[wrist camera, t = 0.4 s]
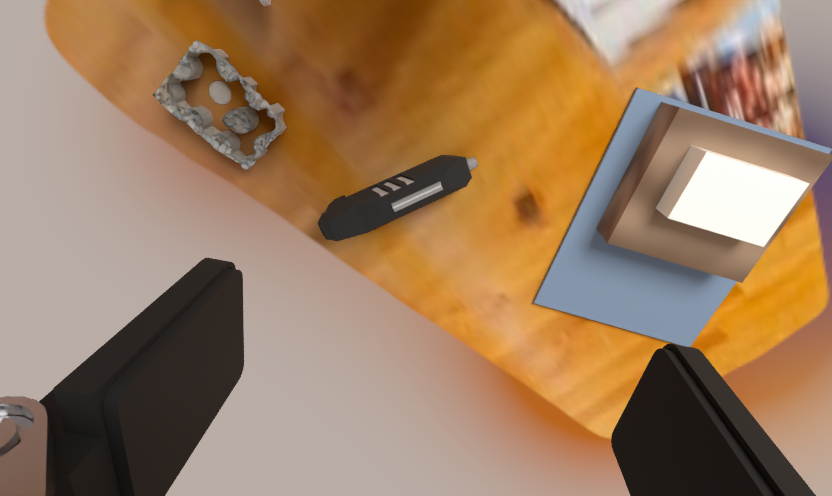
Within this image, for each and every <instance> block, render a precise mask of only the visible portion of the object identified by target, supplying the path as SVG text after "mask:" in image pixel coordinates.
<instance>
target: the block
mask: <svg viewBox="0 0 832 496" xmlns="http://www.w3.org/2000/svg"><path fill="white" fill-rule="evenodd" d="M691 145H693V146H696V147H699V148H702V149H706V150H709V151H712V152H715V153H718V154H722V155H725V156H728V157H731V158H735V159H738V160H741V161H744V162H748V163H751V164H754V165H757V166H761V167H764V168H767V169H770V170H773V171H777V172H780V173H783V174H786V175H789V176H792V177H794V178H797V179H799V180H802V181H804V182H807V183H809V185H808V187H807V188H806V189H805V191H804V192H803V194H802V195H801V196H800V198H799V199H798V200H797V202H796V203H795V205H794V206H793V207H792V209H791V210H790V212H789V213H788V214H787V216H786V217H785V218H784V220H783V221H782V223H781V224H780V225H779V227H778V228H777V229H776V231H775V232H774V234H773V235H772V236H771V238H770V239H769V241H768V242H767V243H766V245H765V246H764V247H762V246H759V245H755V244H752V243H749V242H745V241H742V240H739V239H735V238H732V237H729V236H725V235H722V234H719V233H715V232H712V231H709V230H705V229H702V228H699V227H695V226H692V225H689V224H685V223H682V222H679V221H675V220H672V219H669V218H667V217H666V216H664V215H663V214H662V213H661V212H660V211H658V210H657V209H656V207H657V205H658V203H659V201H660V200H661V198H662V196H663V194H664V193H665V191H666V189H667V187H668V186H669V184H670V182H671V180H672V178H673V177H674V175H675V173H676V171H677V170H678V168H679V166H680V164H681V163H682V161H683V159H684V157H685V156H686V154H687V152H688V150H689V149H690V147H691ZM831 160H832V155H830V154H827V153H824V152H821V151H818V150H814V149H811V148H808V147H805V146H802V145H798V144H795V143H792V142H789V141H786V140H783V139H779V138H776V137H773V136H770V135H767V134H763V133H760V132H757V131H754V130H751V129H747V128H744V127H741V126H738V125H735V124H731V123H728V122H725V121H722V120H719V119H715V118H712V117H709V116H706V115H703V114H700V113H696V112H693V111H690V110H687V109H684V108H680V107H677V106H674V105H670V104H667V103H663V102H661V103H660V105H659V107H658V109H657V111H656V113H655V115H654V117H653V119H652V121H651V123H650V125H649V127H648V129H647V131H646V132H645V134H644V136H643V138H642V140H641V142H640V144H639V146H638V148H637V150H636V152H635V154H634V156H633V158H632V160H631V162H630V164H629V166H628V167H627V169H626V171H625V173H624V175H623V177H622V179H621V181H620V183H619V185H618V187H617V189H616V191H615V193H614V195H613V197H612V199H611V201H610V202H609V204H608V206H607V208H606V210H605V212H604V214H603V216H602V218H601V220H600V222H599V224H598V226H597V228H596V229H597V230H598V231H599V233H600V234H601V235H602V237H603V238H604V239H605V241H606V242H607V243H609V244H612V245H616V246H619V247H623V248H626V249H629V250H633V251H636V252H639V253H643V254H646V255H650V256H653V257H656V258H660V259H663V260H667V261H670V262H673V263H677V264H680V265H683V266H687V267H690V268H694V269H697V270H700V271H704V272H707V273H711V274H714V275H717V276H721V277H724V278H728V279H731V280H734V281H738V282H741V283H742V282H743V281H744V280H745V278H746V277H747V276H748V274H749V273H750V271H751V270H752V269H753V267H754V266H755V265H756V263H757V262H758V260H759V259H760V258H761V256H762V255H763V254H764V252H765V251H766V249H767V248H768V247H769V245H770V244H771V243H772V241H773V240H774V238H775V237H776V236H777V234H778V233H779V232H780V230H781V229H782V228H783V226H784V225H785V223H786V222H787V221H788V219H789V218H790V217H791V215H792V214H793V212H794V211H795V210H796V208H797V207H798V206H799V204H800V203H801V201H802V200H803V199H804V197H805V196H806V195H807V193H808V192H809V190H810V189H811V188H812V186H813V185H814V184H815V182H816V181H817V179H818V178H819V177H820V175H821V174H822V173H823V171H824V170H825V169H826V167H827V166H828V164H829V163H830V162H831Z"/></svg>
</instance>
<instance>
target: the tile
mask: <svg viewBox="0 0 832 496" xmlns="http://www.w3.org/2000/svg"><path fill="white" fill-rule="evenodd" d="M808 185H809V183H807V182H804V181H802V180H799V179H797V178H794V177H792V176H789V175H786V174H783V173H780V172H777V171H773V170H770V169H767V168H764V167H761V166H757V165H754V164H751V163H748V162H744V161H741V160H738V159H735V158H731V157H728V156H725V155H722V154H718V153H715V152H712V151H709V150H706V149H702V148H699V147H696V146H693V145H691V147H690V149H689V150H688V152H687V154H686V156H685V157H684V159H683V161H682V163H681V164H680V166H679V168H678V170H677V171H676V173H675V175H674V177H673V178H672V180H671V182H670V184H669V186H668V187H667V189H666V191H665V193H664V194H663V196H662V198H661V200H660V201H659V203H658V205H657V207H656V209H657V210H658V211H660V212H661V213H662V214H663V215H664V216H666V217H667V218H669V219H672V220H675V221H679V222H682V223H685V224H689V225H692V226H695V227H699V228H702V229H705V230H709V231H712V232H715V233H719V234H722V235H725V236H729V237H732V238H735V239H739V240H742V241H745V242H749V243H752V244H755V245H759V246H762V247H764V246H765V245H766V243H767V242H768V241H769V239H770V238H771V236H772V235H773V234H774V232H775V231H776V229H777V228H778V227H779V225H780V224H781V223H782V221H783V220H784V218H785V217H786V216H787V214H788V213H789V212H790V210H791V209H792V207H793V206H794V205H795V203H796V202H797V200H798V199H799V198H800V196H801V195H802V194H803V192H804V191H805V189H806V188H807V187H808Z"/></svg>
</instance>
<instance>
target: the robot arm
mask: <svg viewBox="0 0 832 496" xmlns="http://www.w3.org/2000/svg"><path fill="white" fill-rule="evenodd" d="M243 339H244V337H243V278H242V272H241V271H240V270H236V269H235V265H234V264H233V263H232V262H228V261H222V260H217V259H212V258H205V259H203V260H202V261H201V262H199V263H198V264H197V265H196V266H195V267H193V268H192V269H191V270H190V271H189V272H188V273H186V274H185V275H184V276H183V277H182V278H181V279H180V280H179V281H177V282H176V283H175V284H174V285H173V286H171V287H170V288H169V289H168V290H167V291H166V292H164V293H163V294H162V295H161V296H160V297H159V298H157V299H156V300H155V301H154V302H153V303H152V304H151V305H150V306H148V307H147V308H146V309H145V310H144V311H143V312H141V313H140V314H139V315H138V316H137V317H135V318H134V319H133V320H132V321H131V322H130V323H128V324H127V325H126V326H125V327H124V328H123V329H122V330H120V331H119V332H118V333H117V334H116V335H115V336H114V337H112V338H111V339H110V340H109V341H108V342H107V343H105V344H104V345H103V346H102V347H101V348H99V349H98V350H97V351H96V352H95V353H94V354H93V355H91V356H90V357H89V358H88V359H87V360H86V361H84V362H83V363H82V364H81V365H80V366H79V367H77V368H76V369H75V370H74V371H73V372H72V373H70V374H69V375H68V376H67V377H66V378H65V379H64V380H63V381H61V382H60V383H59V384H58V385H57V386H55V387H54V388H53V390H52V391H51V392H50V393H49V394H48V395H46V396H45V397H44V398H43V399H42V400H40V401H39V402H38V401H37V400H34V399H30V398H27V397H9V396H8V397H1V398H0V496H165V495H166V493H167V491H168V490H169V488H170V487H171V485H172V484H173V482H174V480H175V479H176V477H177V476H178V474H179V473H180V471H181V470H182V468H183V466H184V465H185V463H186V462H187V460H188V459H189V457H190V455H191V454H192V452H193V451H194V449H195V448H196V446H197V445H198V443H199V441H200V440H201V438H202V437H203V435H204V434H205V432H206V430H207V429H208V427H209V426H210V424H211V423H212V421H213V419H214V418H215V416H216V415H217V413H218V412H219V409H221V407H222V405H223V404H224V402H225V401H226V399H227V398H228V396H229V394H230V393H231V391H232V390H233V388H234V387H235V385H236V383H237V382H238V380H239V379H240V377H241V374H242V371H243V366H244V342H243V341H244V340H243ZM611 443H612V448H613V451H614V454H615V456H616V459H617V462H618V464H619V467H620V469H621V472H622V474H623V477H624V480H625V482H626V485H627V488H628V490H629V493H630V495H631V496H816V495H815V494H814V493H813V491H812V490H811V489H810V488H809V487H808V485H807V484H806V483H805V481H804V480H803V479H802V478H801V476H800V475H799V474H798V473H797V472H796V470H795V469H794V468H793V466H792V465H791V464H790V463H789V461H788V460H787V459H786V458H785V457H784V455H783V454H782V452H781V451H780V450H779V449H778V447H776V445H775V444H774V443H773V441H772V440H771V439H770V438H769V436H768V435H767V434H766V433H765V431H764V430H763V429H762V427H761V426H760V425H759V424H758V422H757V421H756V420H755V419H754V417H753V416H752V415H751V414H750V412H749V411H748V410H747V408H746V407H745V406H744V405H743V403H742V402H741V401H740V400H739V398H738V397H737V396H736V395H735V393H734V392H733V391H732V390H731V389H730V387H729V386H728V385H727V383H726V382H725V381H724V380H723V378H722V377H721V376H720V375H719V373H718V372H717V371H716V369H715V368H714V367H713V366H712V364H711V363H710V362H709V361H708V359H707V358H706V357H705V356H704V354H703V353H702V352H701V351H700V350H699V349H696V348H692V347H686V346H681V345H676V344H667V345H665V346H664V347H663V348H662V349H661V348H660V349H657V350H656V351H655V353H654V354H653V356H652V358H651V360H650V362H649V364H648V366H647V367H646V369H645V371H644V373H643V375H642V377H641V379H640V381H639V383H638V385H637V387H636V389H635V390H634V392H633V394H632V396H631V398H630V400H629V402H628V404H627V406H626V408H625V410H624V412H623V413H622V415H621V417H620V419H619V421H618V423H617V425H616V427H615V429H614V431H613V433H612V440H611Z"/></svg>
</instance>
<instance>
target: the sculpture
mask: <svg viewBox="0 0 832 496" xmlns="http://www.w3.org/2000/svg"><path fill="white" fill-rule="evenodd" d="M259 1H260V2H261V4H262V5H263V6H265V7H266V6H269V5H271V0H259Z"/></svg>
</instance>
